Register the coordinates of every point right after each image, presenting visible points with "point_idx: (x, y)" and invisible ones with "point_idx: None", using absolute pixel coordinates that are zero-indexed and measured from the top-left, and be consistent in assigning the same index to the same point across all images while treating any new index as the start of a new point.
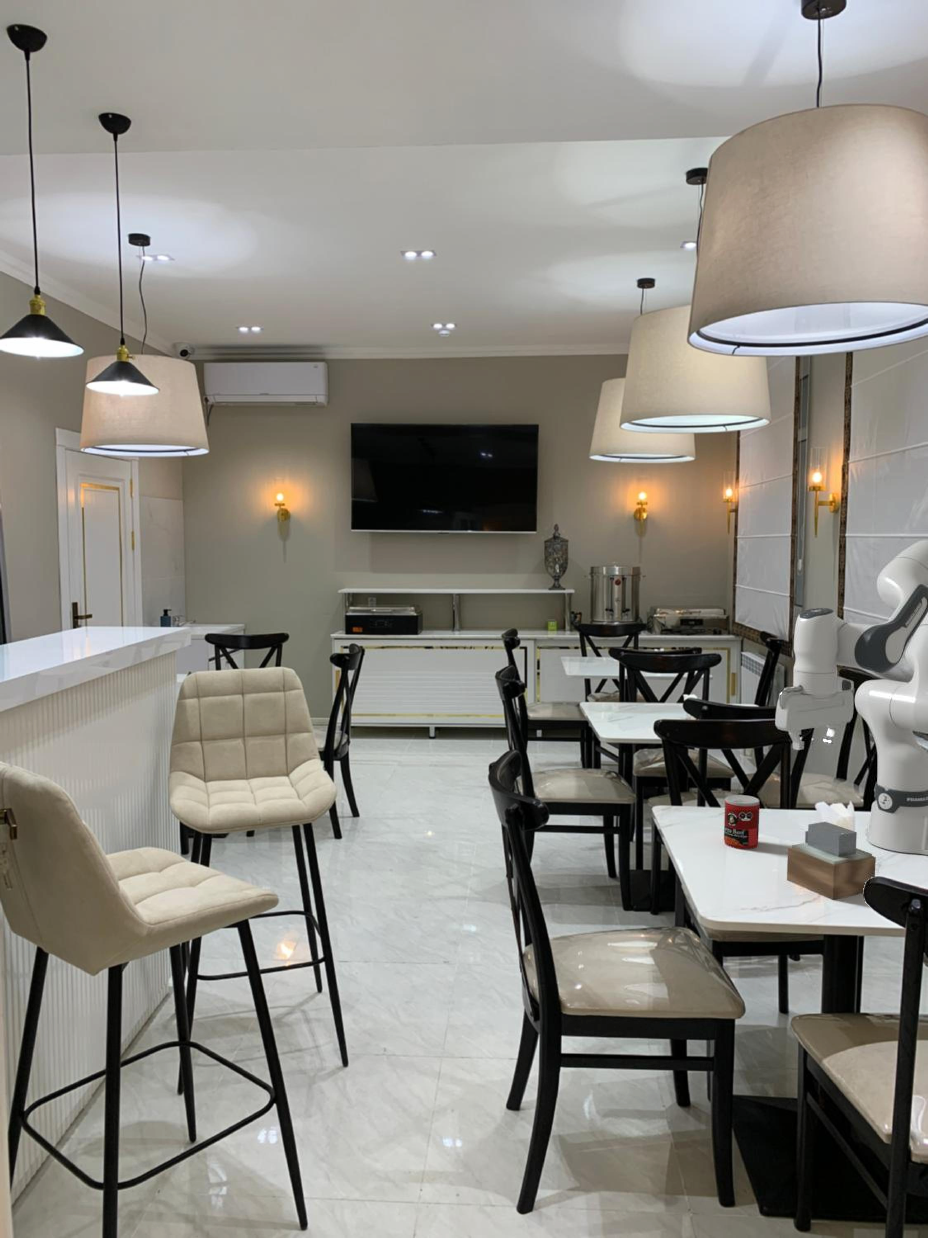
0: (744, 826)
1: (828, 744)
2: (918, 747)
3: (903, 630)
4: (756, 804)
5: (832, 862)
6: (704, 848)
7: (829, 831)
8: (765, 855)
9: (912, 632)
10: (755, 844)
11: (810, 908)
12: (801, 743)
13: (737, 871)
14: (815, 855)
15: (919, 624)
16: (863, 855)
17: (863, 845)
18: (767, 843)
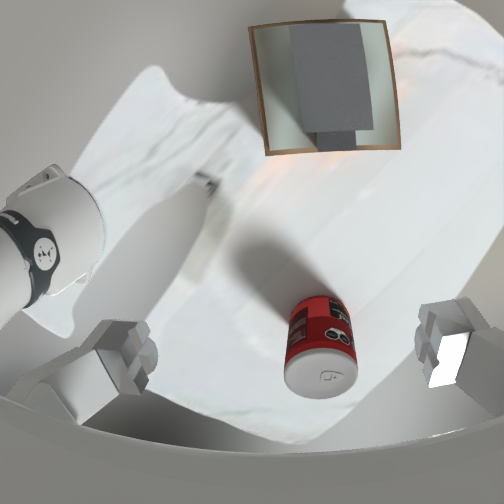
0: (339, 323)
1: (147, 327)
2: None
3: None
4: (312, 350)
5: (382, 27)
6: (391, 321)
7: (361, 58)
8: (321, 261)
9: None
10: (311, 299)
11: (429, 33)
12: (467, 323)
13: (429, 215)
14: (390, 72)
15: None
16: (282, 26)
17: (117, 240)
18: (270, 306)
